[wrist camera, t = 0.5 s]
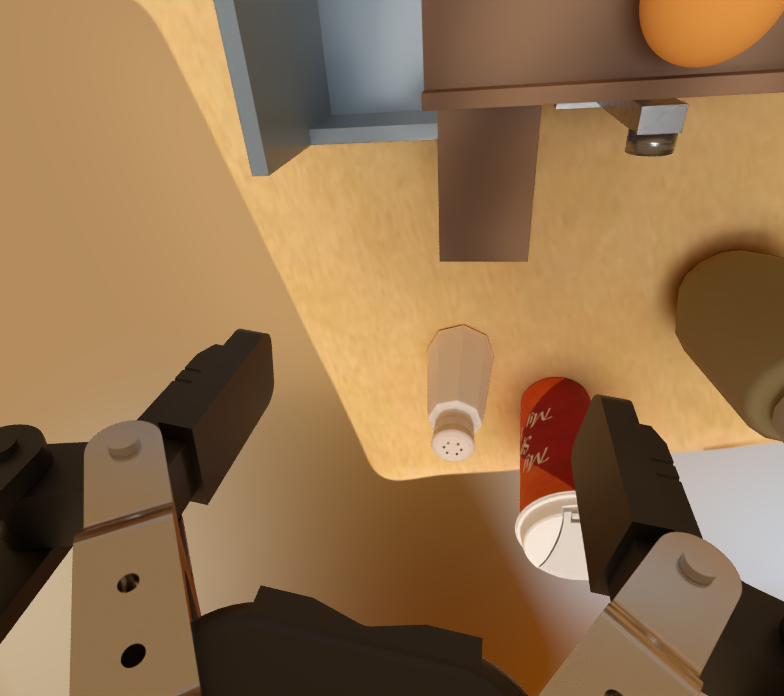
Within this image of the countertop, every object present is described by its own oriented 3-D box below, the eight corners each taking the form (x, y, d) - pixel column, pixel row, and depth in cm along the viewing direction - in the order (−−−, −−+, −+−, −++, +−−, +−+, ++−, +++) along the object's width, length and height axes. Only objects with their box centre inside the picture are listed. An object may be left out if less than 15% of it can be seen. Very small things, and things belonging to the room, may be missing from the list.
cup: (505, -123, 24) (516, -218, 14) (494, 119, 30) (498, 168, 20) (293, -96, 26) (177, -163, 16) (323, 127, 32) (252, 176, 22)
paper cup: (506, 368, 40) (514, 507, 29) (606, 364, 39) (656, 510, 27) (509, 437, 45) (517, 583, 33) (600, 437, 43) (641, 590, 31)
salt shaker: (498, 327, 38) (502, 422, 29) (489, 381, 42) (489, 483, 33) (429, 320, 39) (412, 411, 30) (425, 374, 42) (408, 471, 33)
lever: (1004, -158, 14) (1168, -214, 11) (824, 250, 21) (889, 295, 18) (422, -87, 17) (405, -113, 14) (431, 251, 24) (422, 290, 21)
